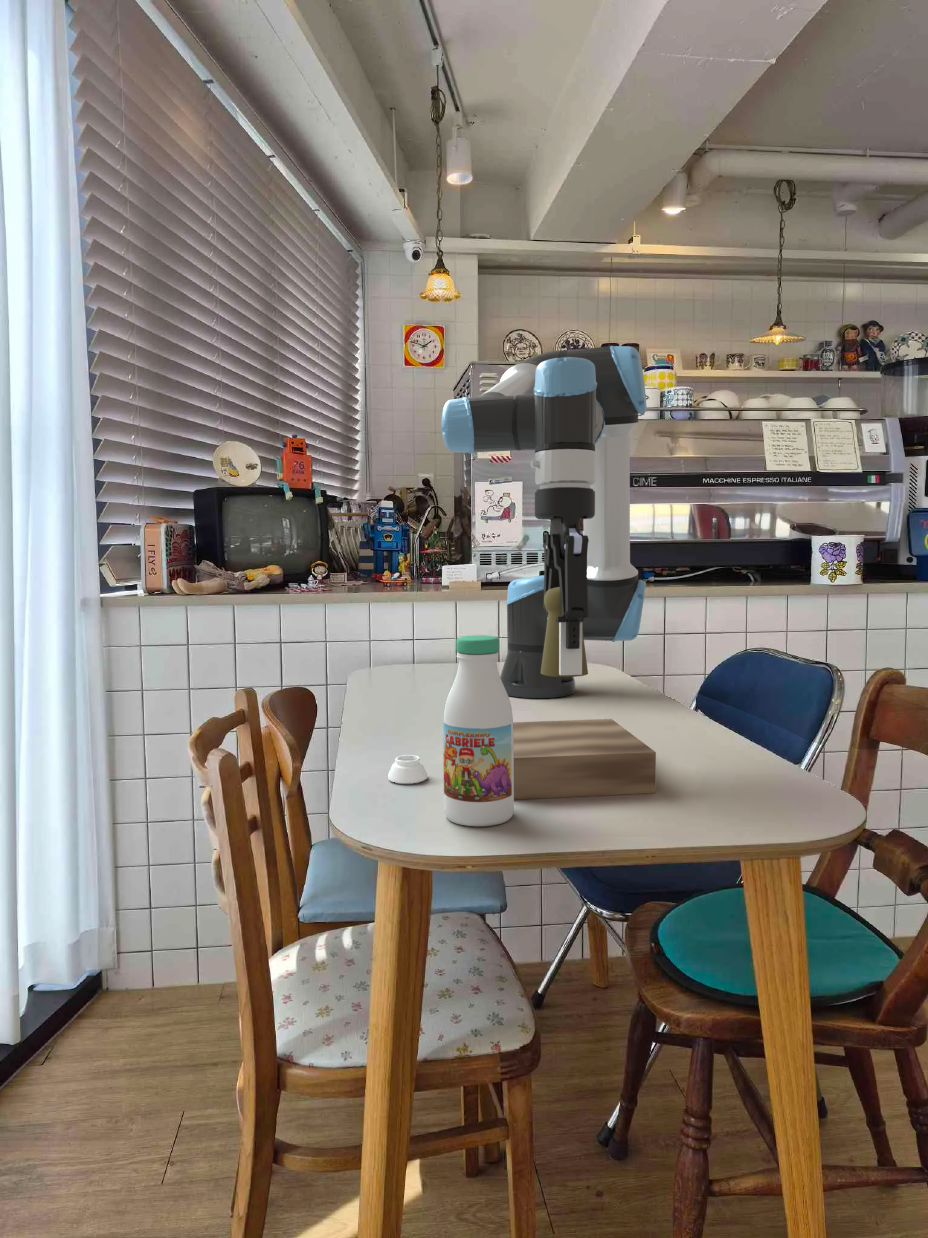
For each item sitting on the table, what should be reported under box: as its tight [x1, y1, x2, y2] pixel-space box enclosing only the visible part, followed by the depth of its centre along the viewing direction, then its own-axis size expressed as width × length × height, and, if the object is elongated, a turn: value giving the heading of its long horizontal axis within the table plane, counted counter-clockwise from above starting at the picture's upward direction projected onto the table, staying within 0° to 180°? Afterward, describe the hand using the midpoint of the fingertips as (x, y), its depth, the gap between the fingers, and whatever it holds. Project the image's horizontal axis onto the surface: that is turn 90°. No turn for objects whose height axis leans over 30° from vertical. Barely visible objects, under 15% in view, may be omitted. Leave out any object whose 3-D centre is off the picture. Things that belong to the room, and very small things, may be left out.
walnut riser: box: [513, 718, 657, 801], centre depth 104 cm, size 18×18×5 cm
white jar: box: [387, 754, 428, 785], centre depth 103 cm, size 5×3×5 cm
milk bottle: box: [442, 634, 515, 827], centre depth 88 cm, size 8×8×20 cm
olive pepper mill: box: [541, 587, 589, 678], centre depth 103 cm, size 6×6×11 cm
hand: (564, 670), depth 103 cm, fingers closed on olive pepper mill, 6 cm apart
